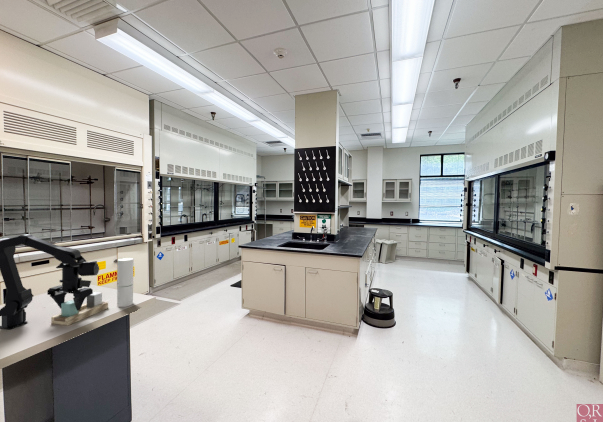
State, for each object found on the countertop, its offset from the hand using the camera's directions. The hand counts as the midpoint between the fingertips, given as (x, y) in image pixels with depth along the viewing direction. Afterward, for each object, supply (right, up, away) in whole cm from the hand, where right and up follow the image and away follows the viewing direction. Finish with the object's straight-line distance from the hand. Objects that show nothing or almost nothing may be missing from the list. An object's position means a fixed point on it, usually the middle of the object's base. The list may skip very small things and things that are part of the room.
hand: (70, 309), depth 119 cm
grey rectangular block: (+2, -3, +12) cm, 13 cm away
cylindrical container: (+12, -5, +20) cm, 24 cm away
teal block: (0, -4, 0) cm, 4 cm away
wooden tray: (+1, -5, +6) cm, 8 cm away
